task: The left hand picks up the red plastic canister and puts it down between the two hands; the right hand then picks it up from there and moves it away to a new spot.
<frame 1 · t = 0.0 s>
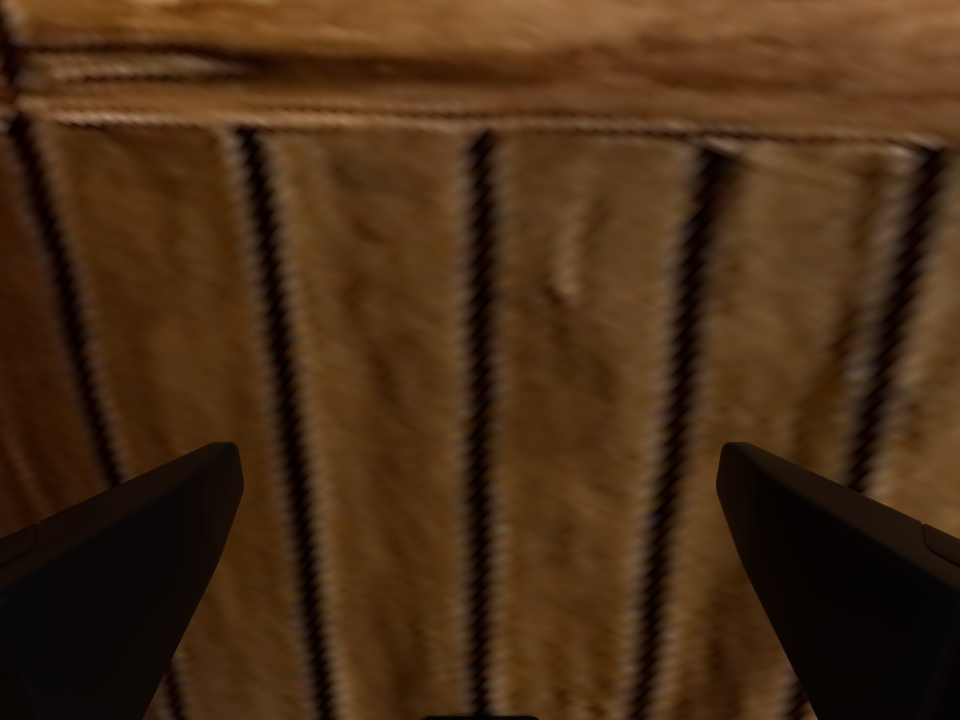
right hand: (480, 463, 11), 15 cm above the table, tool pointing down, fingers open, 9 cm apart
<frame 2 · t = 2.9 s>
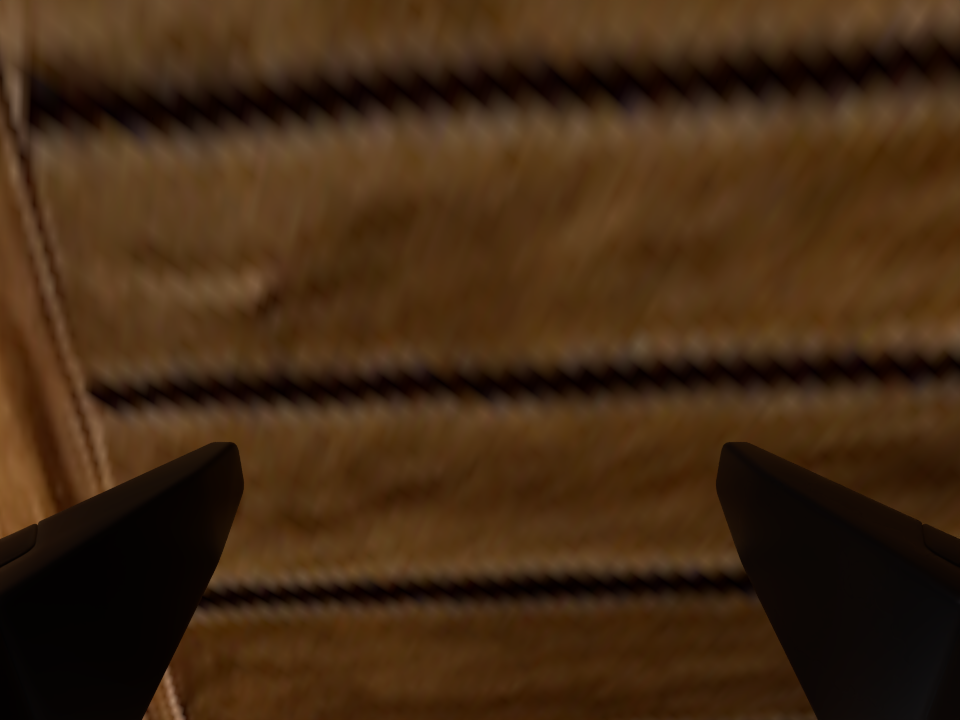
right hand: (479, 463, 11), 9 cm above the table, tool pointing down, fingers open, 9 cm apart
when the left hand's fingers open (2 cm above the table, at t = 8.5 s): canister stays where it is, on the table.
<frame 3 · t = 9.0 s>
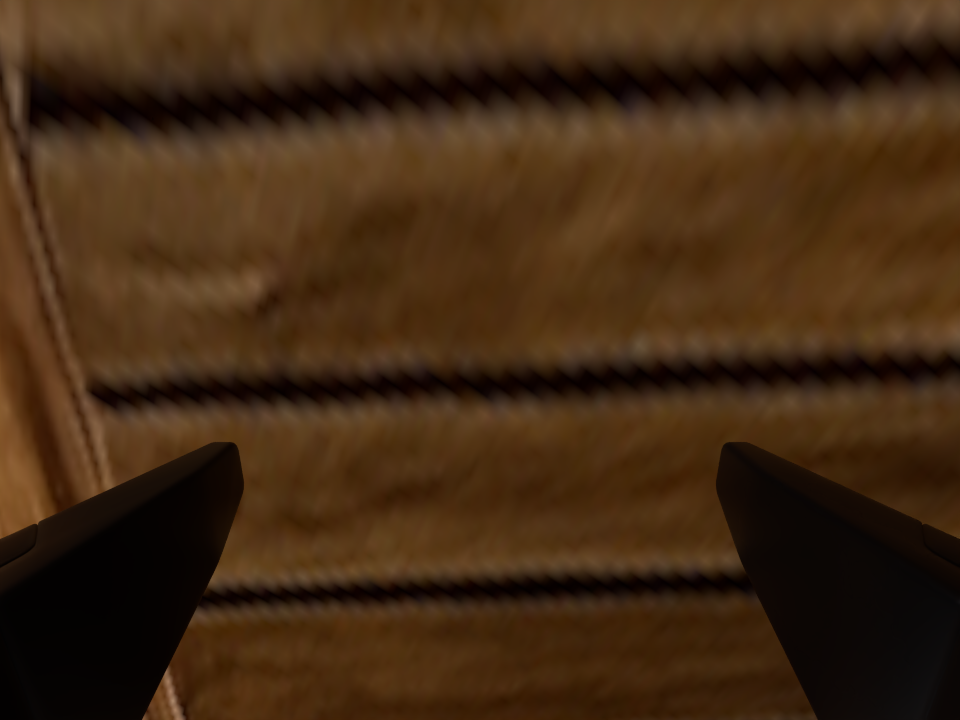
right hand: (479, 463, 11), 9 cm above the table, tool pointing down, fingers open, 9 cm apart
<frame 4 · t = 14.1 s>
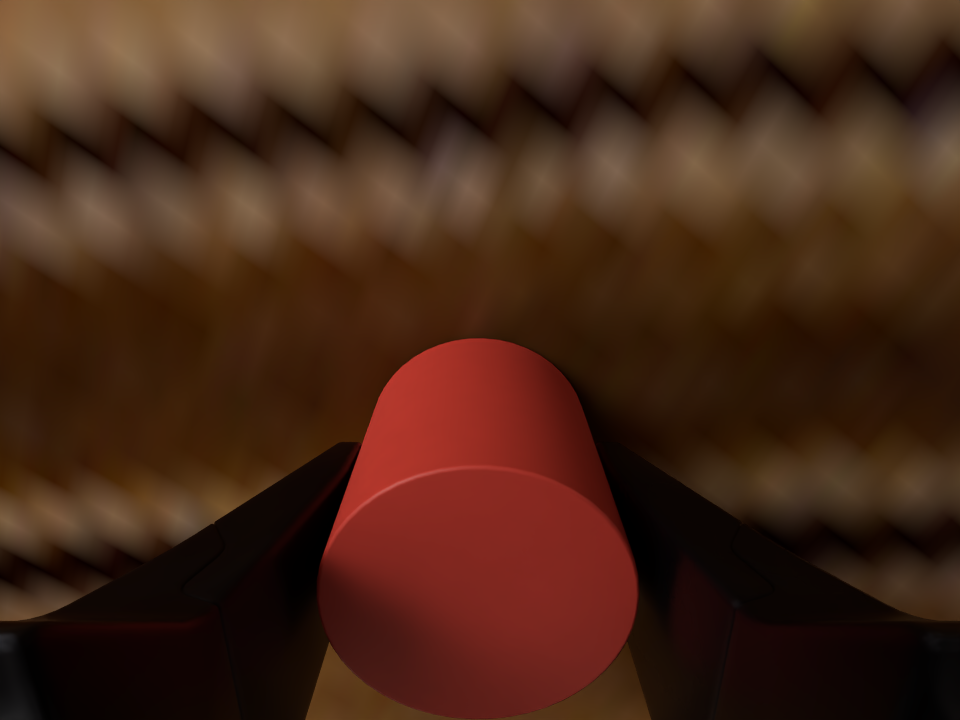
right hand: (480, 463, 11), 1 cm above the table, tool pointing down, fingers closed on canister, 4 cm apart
canister: (478, 437, 12), on the table, touching right hand
when the right hand's fingers open (2 cm above the table, at t = 18.5 s): canister stays where it is, on the table.
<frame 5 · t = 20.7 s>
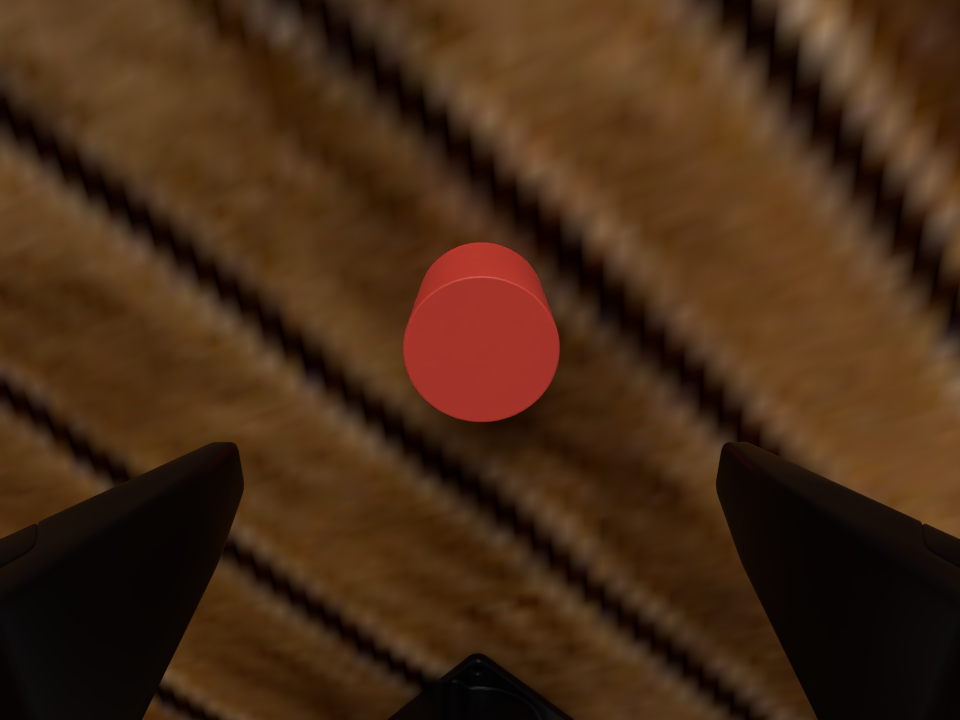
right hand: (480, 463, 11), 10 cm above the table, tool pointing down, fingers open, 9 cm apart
canister: (481, 304, 21), on the table
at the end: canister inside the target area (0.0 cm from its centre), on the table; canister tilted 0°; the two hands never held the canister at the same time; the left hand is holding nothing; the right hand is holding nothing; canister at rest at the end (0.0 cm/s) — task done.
